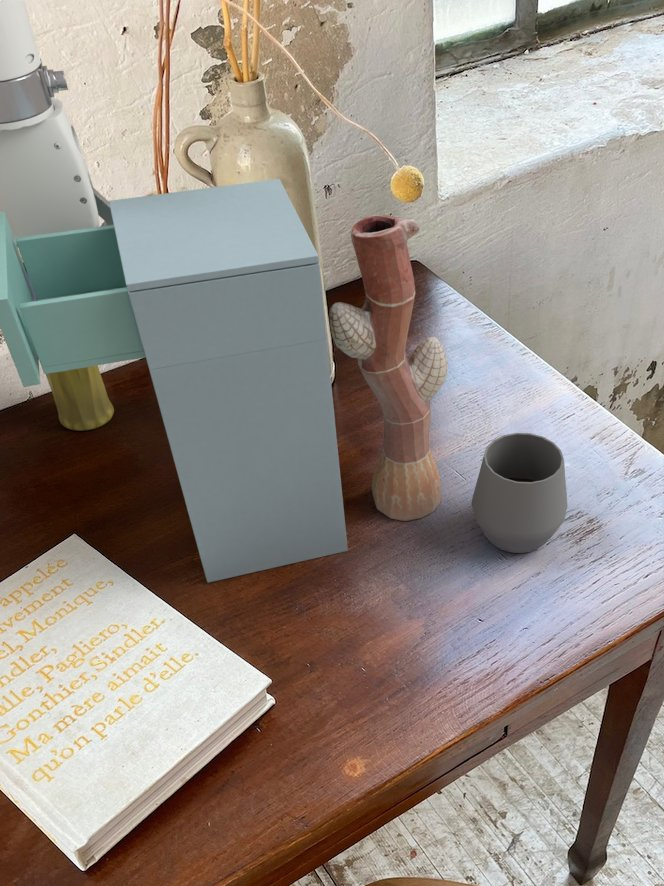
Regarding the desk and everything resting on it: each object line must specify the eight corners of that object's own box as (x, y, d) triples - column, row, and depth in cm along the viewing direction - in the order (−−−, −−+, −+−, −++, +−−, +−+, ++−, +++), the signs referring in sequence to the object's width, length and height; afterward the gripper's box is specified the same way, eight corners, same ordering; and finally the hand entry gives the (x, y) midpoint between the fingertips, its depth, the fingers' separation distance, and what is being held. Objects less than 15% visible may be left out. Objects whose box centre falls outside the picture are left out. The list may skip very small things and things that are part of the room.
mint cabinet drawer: (-48, 400, 66) (-90, 313, 61) (-45, 306, 75) (-81, 222, 69) (211, 356, 70) (193, 270, 65) (186, 272, 79) (168, 190, 74)
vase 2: (444, 474, 99) (447, 200, 76) (449, 519, 94) (454, 241, 71) (347, 478, 98) (321, 202, 76) (347, 524, 93) (320, 244, 71)
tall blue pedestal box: (207, 583, 87) (125, 284, 64) (186, 492, 96) (108, 200, 73) (347, 551, 90) (318, 255, 67) (315, 465, 99) (279, 178, 76)
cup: (468, 564, 89) (472, 487, 82) (471, 501, 96) (474, 424, 88) (564, 568, 89) (576, 491, 82) (561, 505, 95) (571, 428, 88)
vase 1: (62, 436, 102) (19, 323, 91) (57, 406, 106) (15, 294, 95) (117, 425, 104) (82, 312, 93) (111, 395, 107) (75, 284, 97)
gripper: (106, 67, 74) (154, 275, 87) (-120, 85, 70) (-33, 300, 83) (115, 100, 69) (163, 315, 83) (-127, 122, 65) (-34, 344, 79)
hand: (64, 306), depth 83 cm, fingers closed on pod, 4 cm apart
